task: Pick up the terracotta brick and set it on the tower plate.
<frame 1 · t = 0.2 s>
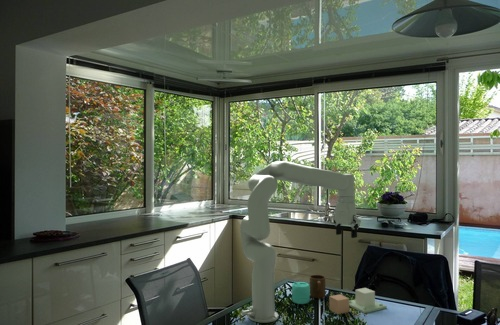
hand: (346, 235, 188), 30 cm above the table, tool pointing down, fingers open, 9 cm apart
mug: (318, 298, 193), on the table
tower plate: (365, 306, 181), on the table
teal cylindrical piece: (300, 301, 188), on the table
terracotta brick: (339, 311, 176), on the table
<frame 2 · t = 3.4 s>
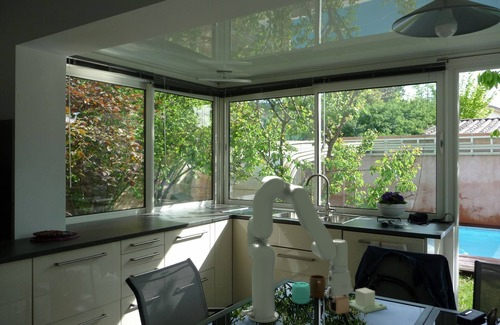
hand: (339, 308, 176), 1 cm above the table, tool pointing down, fingers closed on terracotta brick, 6 cm apart
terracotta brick: (339, 310, 176), on the table, touching gripper
everything else where it was.
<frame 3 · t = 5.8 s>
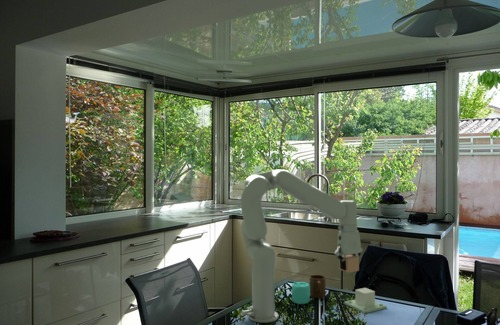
hand: (349, 268, 178), 18 cm above the table, tool pointing down, fingers closed on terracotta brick, 6 cm apart
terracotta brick: (349, 270, 178), point 17 cm above the table, touching gripper
everything else where it was.
when the fingers open (9 cm above the table, at t = 8.4 s): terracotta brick drops 1 cm, resting on tower plate.
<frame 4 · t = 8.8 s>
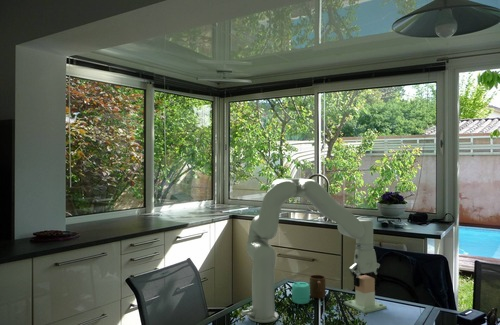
hand: (364, 284, 181), 10 cm above the table, tool pointing down, fingers open, 9 cm apart
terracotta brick: (364, 290, 181), point 7 cm above the table, touching tower plate
everything else where it was.
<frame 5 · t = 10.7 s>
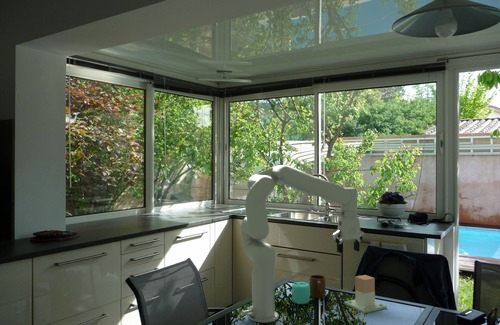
hand: (348, 251, 183), 24 cm above the table, tool pointing down, fingers open, 9 cm apart
nothing on the table moved.
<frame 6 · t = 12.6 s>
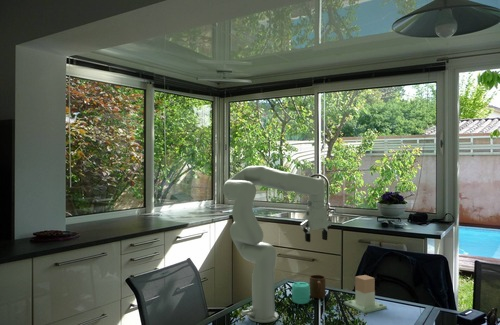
hand: (316, 240, 189), 28 cm above the table, tool pointing down, fingers open, 9 cm apart
nothing on the table moved.
at the end: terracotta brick 0.0 cm off-centre on the tower plate, point 7.0 cm above the tower plate's base; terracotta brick tilted 0°; the gripper is holding nothing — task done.
